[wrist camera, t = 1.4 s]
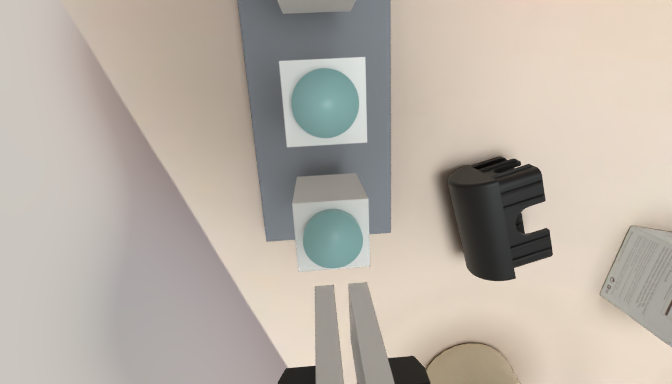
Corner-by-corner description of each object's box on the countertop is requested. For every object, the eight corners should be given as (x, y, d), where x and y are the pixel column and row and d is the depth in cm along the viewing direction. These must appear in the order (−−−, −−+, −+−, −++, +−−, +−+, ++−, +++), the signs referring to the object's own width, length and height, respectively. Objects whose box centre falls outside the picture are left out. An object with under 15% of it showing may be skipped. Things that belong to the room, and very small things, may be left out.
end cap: (435, 172, 35) (462, 191, 29) (502, 150, 35) (545, 165, 29) (455, 255, 38) (483, 289, 32) (516, 235, 38) (558, 266, 32)
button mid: (287, 67, 24) (277, 59, 17) (352, 64, 25) (367, 55, 18) (293, 132, 26) (285, 149, 19) (354, 129, 26) (369, 144, 19)
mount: (236, -66, 28) (207, -123, 20) (382, -71, 29) (407, -127, 21) (270, 229, 36) (258, 267, 28) (384, 221, 36) (403, 257, 29)
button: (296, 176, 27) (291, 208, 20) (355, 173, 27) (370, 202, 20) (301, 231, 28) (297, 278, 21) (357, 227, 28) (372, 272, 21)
